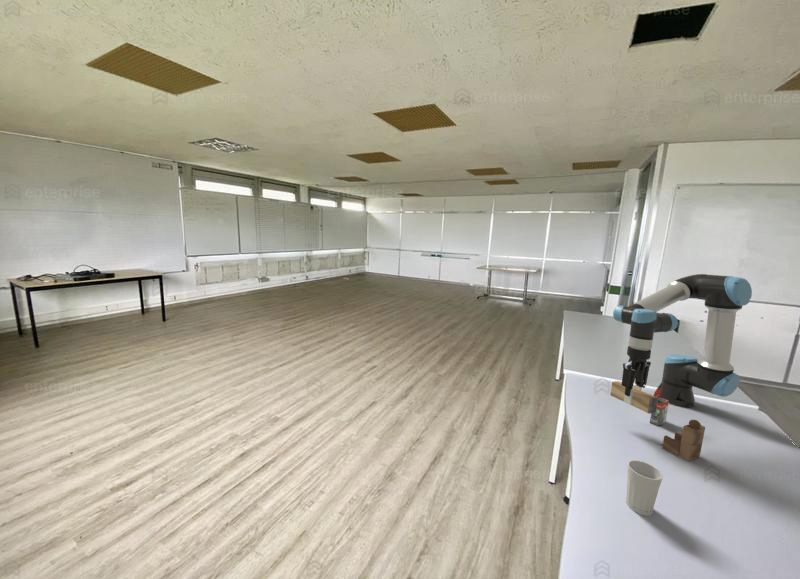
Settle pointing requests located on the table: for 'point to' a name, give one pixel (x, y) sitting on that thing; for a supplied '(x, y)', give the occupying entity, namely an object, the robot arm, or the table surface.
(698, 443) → the brown domed block
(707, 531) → the table surface
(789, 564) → the table surface
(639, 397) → the rail
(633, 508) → the cup
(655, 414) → the ink box
